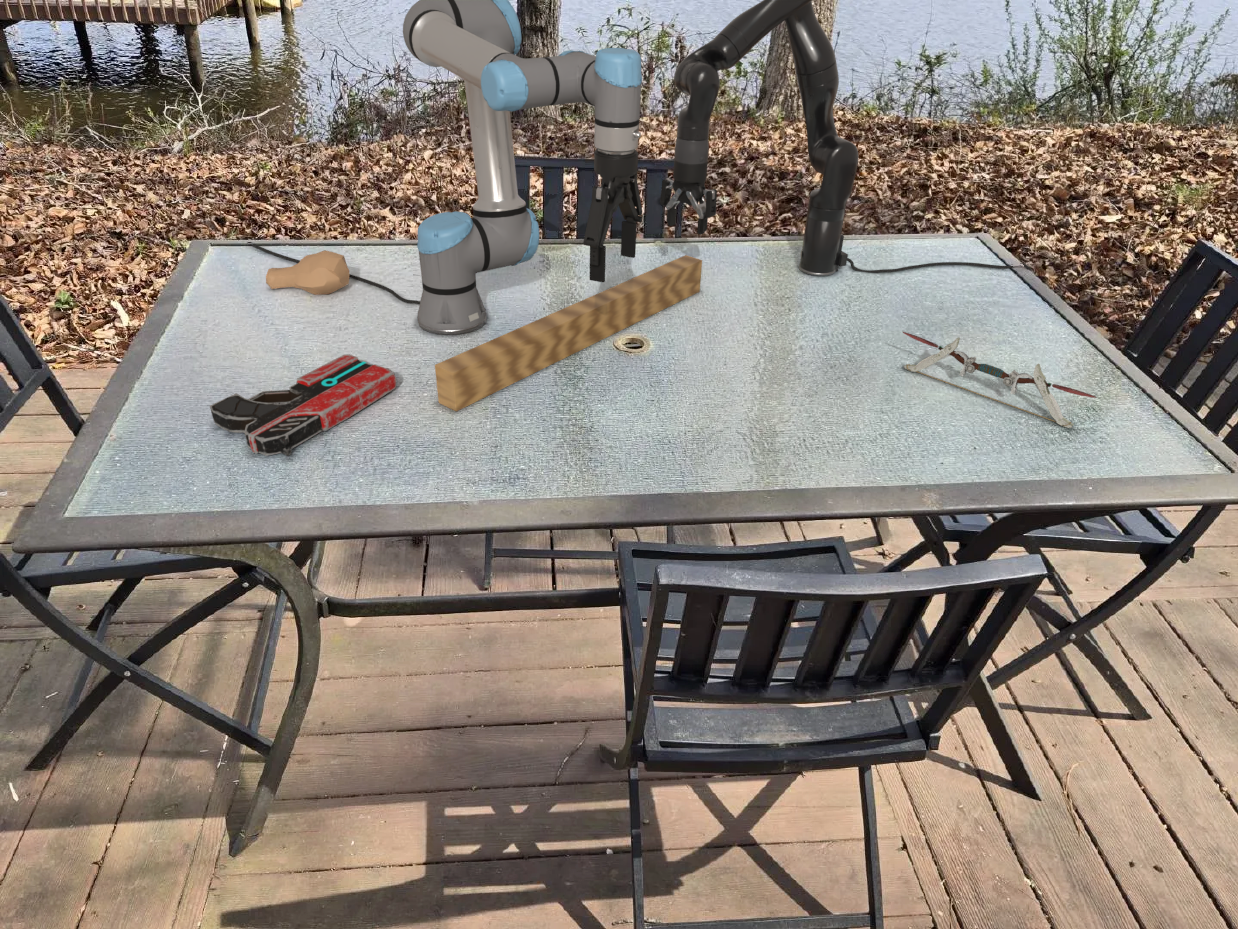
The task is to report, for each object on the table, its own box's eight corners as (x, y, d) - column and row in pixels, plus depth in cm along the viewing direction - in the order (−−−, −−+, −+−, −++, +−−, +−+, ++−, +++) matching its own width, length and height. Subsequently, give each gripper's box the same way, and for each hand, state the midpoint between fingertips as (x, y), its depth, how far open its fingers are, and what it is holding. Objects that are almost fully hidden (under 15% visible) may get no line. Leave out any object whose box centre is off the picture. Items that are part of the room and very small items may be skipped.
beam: (456, 411, 164) (452, 373, 160) (438, 402, 167) (434, 364, 162) (699, 291, 215) (702, 259, 211) (683, 286, 218) (685, 254, 213)
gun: (194, 409, 153) (271, 444, 146) (327, 342, 175) (400, 368, 168) (201, 431, 156) (277, 466, 148) (331, 362, 178) (403, 389, 170)
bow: (1085, 430, 164) (1103, 383, 158) (1082, 434, 163) (1099, 386, 157) (897, 362, 185) (907, 319, 179) (893, 365, 184) (902, 321, 178)
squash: (349, 299, 206) (336, 265, 200) (267, 306, 208) (252, 273, 202) (359, 274, 214) (347, 241, 208) (280, 281, 216) (266, 249, 209)
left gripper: (605, 170, 139) (602, 295, 150) (663, 136, 158) (657, 250, 169) (563, 163, 141) (563, 287, 153) (625, 130, 160) (622, 243, 172)
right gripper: (727, 161, 194) (720, 232, 203) (675, 149, 202) (671, 218, 211) (707, 167, 189) (701, 240, 198) (655, 154, 197) (652, 225, 206)
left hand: (613, 268), depth 161 cm, fingers open, 13 cm apart
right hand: (686, 229), depth 204 cm, fingers open, 8 cm apart
